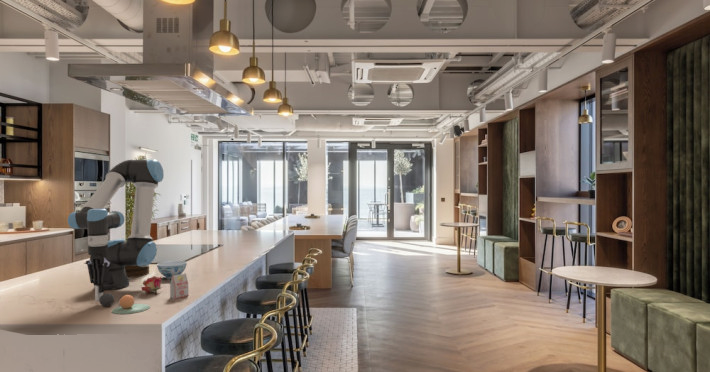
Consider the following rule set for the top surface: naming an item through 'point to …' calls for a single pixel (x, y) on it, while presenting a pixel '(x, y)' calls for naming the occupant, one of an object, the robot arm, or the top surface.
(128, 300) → the object ball
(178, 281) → the white paper snack bag
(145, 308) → the green plate
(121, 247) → the robot arm
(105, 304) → the dark grey ball
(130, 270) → the wooden container
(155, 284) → the flower
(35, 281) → the top surface
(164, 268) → the chinaware
